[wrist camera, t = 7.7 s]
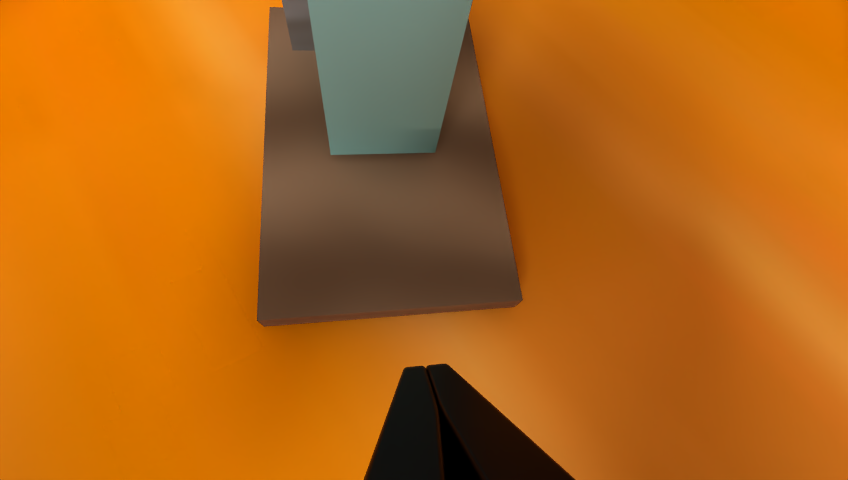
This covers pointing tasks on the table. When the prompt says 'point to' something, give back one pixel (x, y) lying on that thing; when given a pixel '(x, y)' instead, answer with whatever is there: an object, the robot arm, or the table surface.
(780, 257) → the table surface
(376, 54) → the teal block
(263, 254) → the bracket
